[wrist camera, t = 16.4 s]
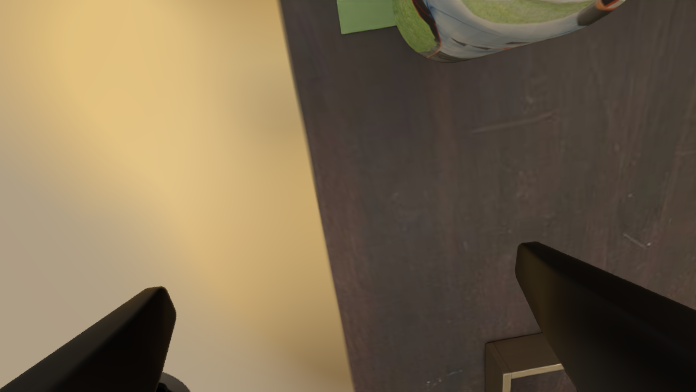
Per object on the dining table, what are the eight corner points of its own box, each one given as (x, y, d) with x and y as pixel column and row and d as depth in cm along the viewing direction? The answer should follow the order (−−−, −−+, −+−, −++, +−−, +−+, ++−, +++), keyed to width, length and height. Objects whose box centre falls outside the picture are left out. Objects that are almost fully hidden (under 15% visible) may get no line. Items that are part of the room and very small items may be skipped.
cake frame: (484, 423, 33) (500, 458, 30) (485, 343, 29) (503, 374, 26) (590, 403, 33) (615, 436, 30) (606, 321, 29) (636, 350, 26)
